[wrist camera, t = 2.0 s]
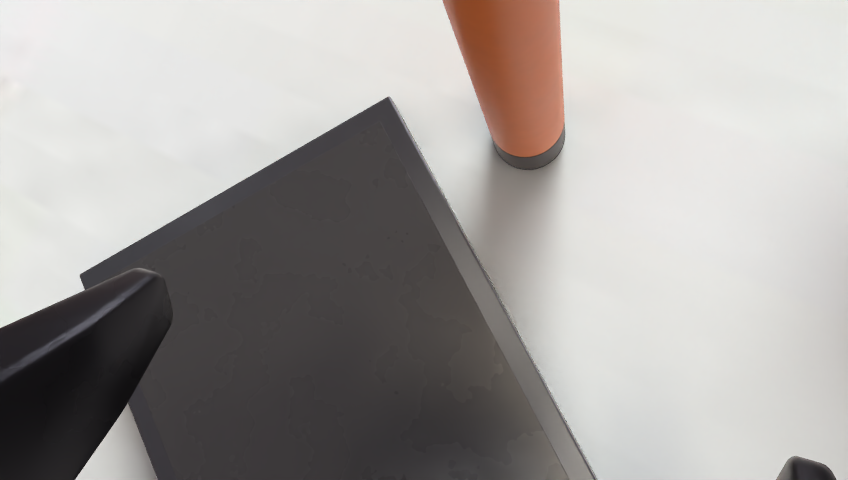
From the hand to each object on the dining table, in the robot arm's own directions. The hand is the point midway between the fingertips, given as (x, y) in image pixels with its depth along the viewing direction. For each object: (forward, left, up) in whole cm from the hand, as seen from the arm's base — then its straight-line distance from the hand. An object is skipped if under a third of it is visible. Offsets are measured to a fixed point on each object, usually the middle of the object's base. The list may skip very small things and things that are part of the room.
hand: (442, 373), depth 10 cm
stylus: (+4, +7, -14) cm, 16 cm away
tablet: (-6, 0, -14) cm, 15 cm away
